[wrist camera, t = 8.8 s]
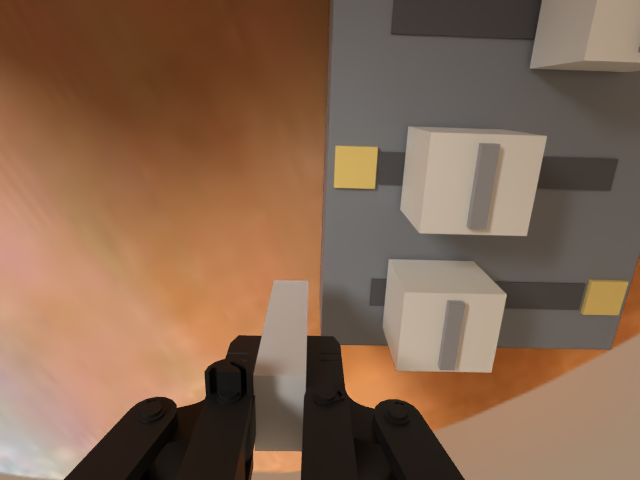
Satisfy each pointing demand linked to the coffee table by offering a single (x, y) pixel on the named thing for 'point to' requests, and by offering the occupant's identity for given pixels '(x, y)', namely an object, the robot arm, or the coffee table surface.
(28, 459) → the coffee table surface
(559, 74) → the switch unit
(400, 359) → the slider
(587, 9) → the slider
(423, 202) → the slider
